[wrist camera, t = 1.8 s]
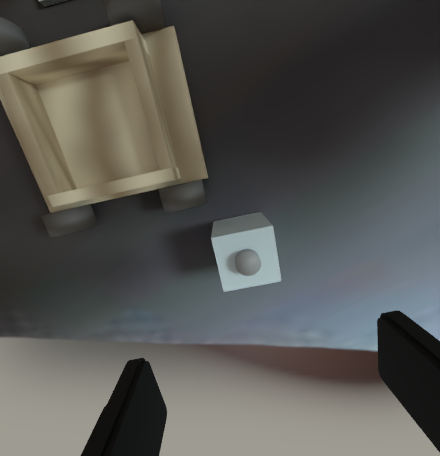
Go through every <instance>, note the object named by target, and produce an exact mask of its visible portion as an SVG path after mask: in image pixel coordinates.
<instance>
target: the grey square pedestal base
mask: <svg viewBox="0 0 440 456" xmlns="http://www.w3.org/2000/svg"><path fill="white" fill-rule="evenodd" d="M38 1H39V2H40V3H41V4H42V5H43V6H44V7H47V6H50V5H54V4H57V3H60V2H64V1H67V0H38Z"/></svg>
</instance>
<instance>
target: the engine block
mask: <svg viewBox="0 0 440 456" xmlns="http://www.w3.org/2000/svg"><path fill="white" fill-rule="evenodd" d="M211 240H212V245H213V249H214V253H215V257H216V261H217V265H218V270H219V274H220V278H221V282H222V286H223V291H224V292H226V291H231V290H236V289H242V288H247V287H252V286H258V285H263V284H269V283H274V282H279V281H281V275H280V269H279V262H278V255H277V249H276V242H275V236H274V229H273V225H272V224H271V223H270V222H269V221H268V220H267V218H266V217H265V216H264V215H263V214H262V213H261V212H257V213H252V214H248V215H243V216H238V217H233V218H228V219H224V220H219V221H214V222H213V228H212V235H211Z"/></svg>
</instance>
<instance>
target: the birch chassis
mask: <svg viewBox="0 0 440 456" xmlns="http://www.w3.org/2000/svg"><path fill="white" fill-rule="evenodd" d="M103 3H104V6H105V9H106V13H107V16H108V20H109V23H110V27H106V28H102V29H99V30H95V31H92V32H88V33H84V34H81V35H77V36H73V37H70V38H66V39H62V40H59V41H55V42H52V43H48V44H44V45H41V46H37V47H33V48H30V45H29V43H28V40H27V38H26V35H25V33H24V32H23V30H22V29H21V28H20V27H18V26H17V25H16V24H14V23H12V22H11V21H9V20H6V19H4V18H2V17H0V100H1V102H2V105H3V107H4V109H5V111H6V114H7V116H8V118H9V120H10V123H11V125H12V127H13V129H14V132H15V134H16V136H17V138H18V141H19V143H20V145H21V147H22V150H23V152H24V154H25V156H26V159H27V161H28V163H29V165H30V168H31V170H32V172H33V174H34V177H35V179H36V181H37V183H38V186H39V188H40V190H41V192H42V195H43V197H44V199H45V201H46V204H47V206H48V208H49V211H50V213H49V214H45V215H41V218H42V220H43V222H44V225H45V227H46V229H47V231H48V233H49V236H50V237H58V236H62V235H66V234H70V233H74V232H77V231H81V230H84V229H87V228H90V227H92V226H95V225H97V224H98V222H97V219H96V217H95V214H94V211H93V209H92V206H91V204H93V203H97V202H102V201H106V200H111V199H115V198H120V197H124V196H129V195H133V194H138V193H142V192H147V191H151V190H156V189H158V191H159V194H160V198H161V201H162V205H163V208H164V211H165V212H173V211H179V210H184V209H188V208H192V207H195V206H198V205H201V204H204V203H205V202H207V200H206V196H205V191H204V187H203V183H202V180H201V179H206V178H208V174H207V169H206V165H205V160H204V156H203V151H202V147H201V142H200V138H199V133H198V129H197V124H196V120H195V116H194V111H193V107H192V102H191V98H190V93H189V89H188V84H187V80H186V75H185V71H184V66H183V62H182V58H181V53H180V49H179V44H178V40H177V35H176V32H175V29H174V26H171V27H167V28H164V27H165V20H164V15H163V11H162V7H161V3H160V0H103ZM160 188H161V189H160ZM52 212H53V213H52Z"/></svg>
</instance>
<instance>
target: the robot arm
mask: <svg viewBox="0 0 440 456" xmlns="http://www.w3.org/2000/svg"><path fill="white" fill-rule="evenodd" d="M377 327H378V370H379V374H380V376H381V378H382V380H383V381H384V382H385V384H386V385H387V386H388V388H389V389H390V390H391V391H392V393H393V394H394V395H395V396H396V398H397V399H398V400H399V401H400V403H401V404H402V405H403V407H404V408H405V409H406V410H407V412H408V413H409V414H410V415H411V417H412V418H413V419H414V420H415V422H416V423H417V424H418V426H419V427H420V428H421V429H422V430H423V432H424V433H425V434H426V436H427V437H428V438H429V439H430V441H431V442H432V443H433V444H434V446H435V447H436V448H437V450H438V451H439V452H440V341H439V340H437V339H436V338H435V337H433V336H432V335H431V334H430V333H428V332H427V331H426V330H424V329H423V328H422V327H420V326H419V325H418V324H416V323H415V322H414V321H413V320H411V319H410V318H409V317H407V316H406V315H405V314H403V313H402V312H400V311H392V312H387V313H382V314H381V316H380V318H378V320H377ZM166 418H167V410H166V405H165V403H164V400H163V397H162V395H161V392H160V389H159V387H158V384H157V382H156V379H155V377H154V374H153V371H152V369H151V366H150V363H149V362H148V361H145V359H144V358H140V359H134V360H129V361H128V362H127V364H126V365H125V368H124V370H123V372H122V374H121V376H120V378H119V380H118V382H117V385H116V387H115V389H114V391H113V393H112V395H111V397H110V399H109V401H108V404H107V405H106V406H105V407H104V409H103V411H102V413H101V415H100V417H99V419H98V421H97V423H96V425H95V427H94V429H93V431H92V434H91V435H90V438H89V440H88V442H87V444H86V446H85V448H84V450H83V452H82V454H81V456H159V452H160V448H161V443H162V437H163V433H164V428H165V423H166Z"/></svg>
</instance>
